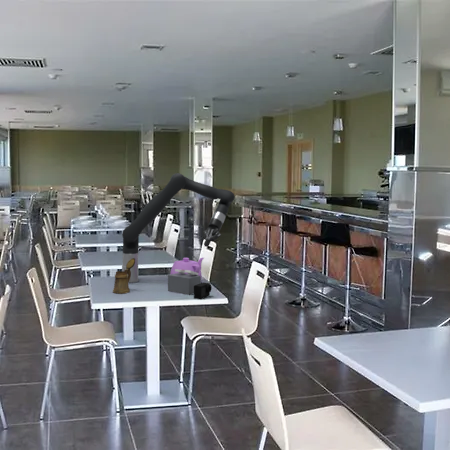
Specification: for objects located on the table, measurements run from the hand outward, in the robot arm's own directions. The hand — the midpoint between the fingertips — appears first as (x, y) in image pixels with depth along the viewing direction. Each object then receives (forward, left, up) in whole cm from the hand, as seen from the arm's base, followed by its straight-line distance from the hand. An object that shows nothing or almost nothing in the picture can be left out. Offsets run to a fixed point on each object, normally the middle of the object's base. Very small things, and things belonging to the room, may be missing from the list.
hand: (205, 245), depth 339 cm
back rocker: (-17, -8, -14) cm, 23 cm away
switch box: (-16, -12, -23) cm, 31 cm away
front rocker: (-13, -14, -14) cm, 23 cm away
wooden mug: (-48, -3, -24) cm, 53 cm away
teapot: (-8, +12, -24) cm, 28 cm away
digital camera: (-10, -28, -24) cm, 38 cm away
